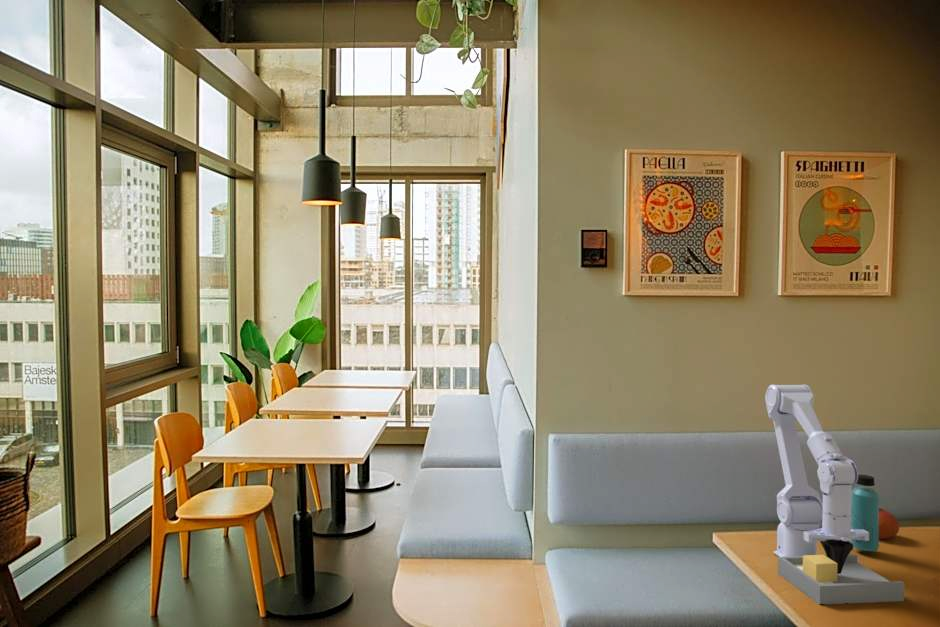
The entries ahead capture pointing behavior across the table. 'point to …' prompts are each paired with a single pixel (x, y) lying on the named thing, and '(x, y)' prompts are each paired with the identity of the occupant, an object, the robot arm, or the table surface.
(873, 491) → the beverage bottle
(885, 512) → the fruit
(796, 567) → the box
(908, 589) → the table surface
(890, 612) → the table surface
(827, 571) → the block
